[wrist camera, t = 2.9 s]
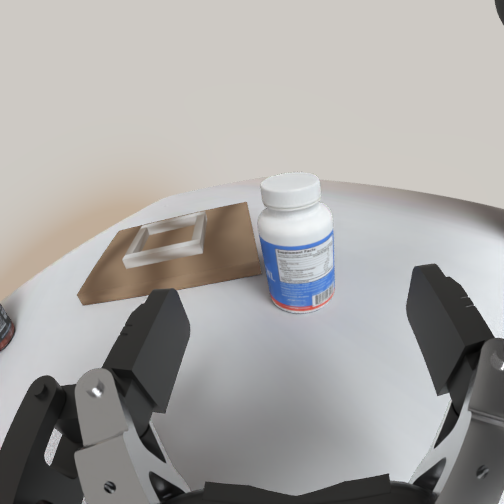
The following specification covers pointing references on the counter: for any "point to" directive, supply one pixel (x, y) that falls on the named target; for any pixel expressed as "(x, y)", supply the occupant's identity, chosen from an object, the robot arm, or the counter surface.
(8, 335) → the supplement bottle
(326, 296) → the pill bottle
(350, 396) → the counter surface
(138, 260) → the walnut board
